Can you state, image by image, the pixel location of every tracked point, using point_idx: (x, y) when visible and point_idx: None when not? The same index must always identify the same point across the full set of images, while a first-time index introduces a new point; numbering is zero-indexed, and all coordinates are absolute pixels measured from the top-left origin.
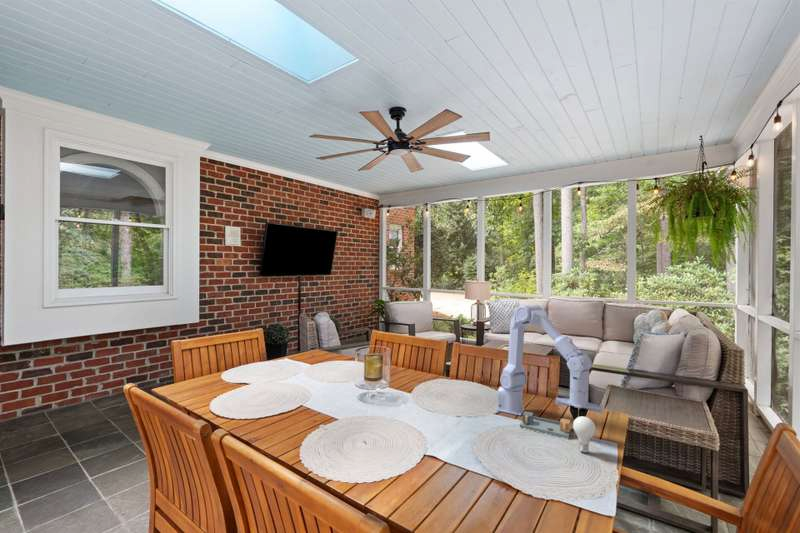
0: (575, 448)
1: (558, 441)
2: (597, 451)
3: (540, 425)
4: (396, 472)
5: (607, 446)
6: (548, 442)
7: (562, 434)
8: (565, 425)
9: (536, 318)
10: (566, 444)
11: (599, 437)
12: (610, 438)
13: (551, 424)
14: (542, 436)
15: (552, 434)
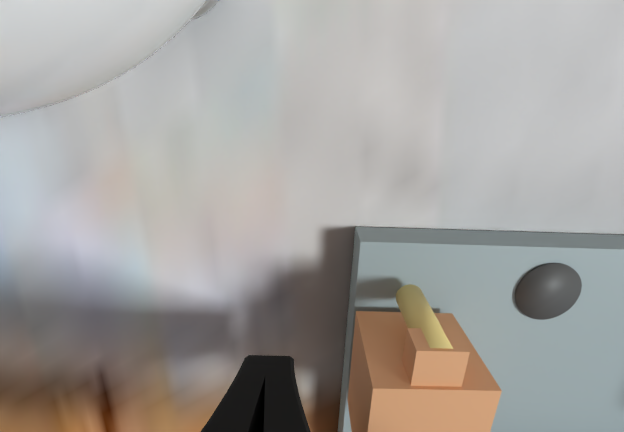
0: (277, 25)
1: (456, 116)
2: None
3: None
4: None
5: (12, 263)
6: (572, 18)
7: (423, 242)
8: (421, 338)
9: None
10: (374, 83)
11: (113, 401)
12: (36, 424)
13: (518, 411)
14: (616, 153)
15: (513, 235)
